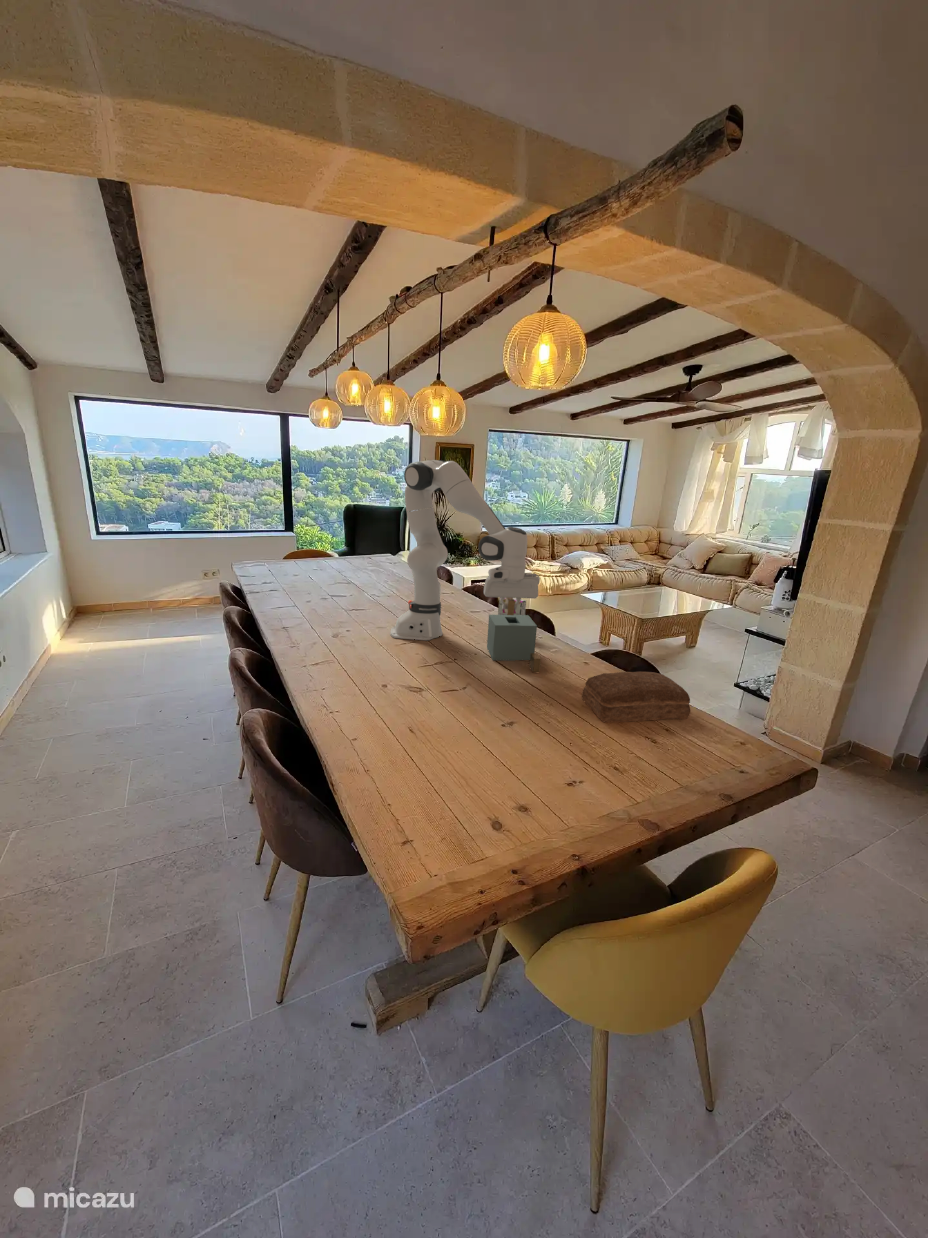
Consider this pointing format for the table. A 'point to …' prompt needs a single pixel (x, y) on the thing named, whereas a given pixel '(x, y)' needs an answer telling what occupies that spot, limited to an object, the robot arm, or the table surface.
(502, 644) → the coin box
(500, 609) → the candy bar box
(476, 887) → the table surface
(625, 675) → the bread
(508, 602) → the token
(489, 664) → the table surface
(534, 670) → the token
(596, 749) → the table surface
